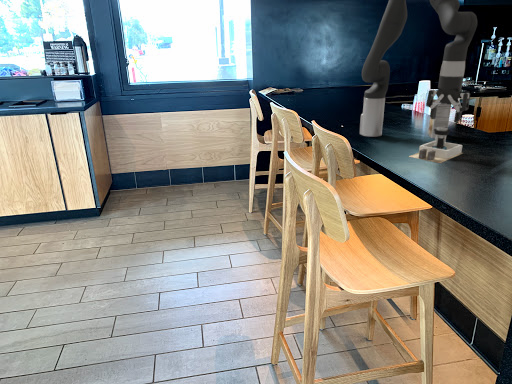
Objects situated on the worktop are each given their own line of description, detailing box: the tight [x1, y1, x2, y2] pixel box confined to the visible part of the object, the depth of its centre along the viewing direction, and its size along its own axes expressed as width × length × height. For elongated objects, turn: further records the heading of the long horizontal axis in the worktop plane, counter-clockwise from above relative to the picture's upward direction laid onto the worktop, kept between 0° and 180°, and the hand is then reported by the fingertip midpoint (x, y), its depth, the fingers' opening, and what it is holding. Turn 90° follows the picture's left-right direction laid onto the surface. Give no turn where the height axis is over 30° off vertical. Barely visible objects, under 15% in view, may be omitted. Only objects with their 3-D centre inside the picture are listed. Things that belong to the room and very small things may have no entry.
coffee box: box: [427, 98, 452, 139], centre depth 172 cm, size 9×6×16 cm
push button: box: [432, 126, 451, 150], centre depth 143 cm, size 7×5×10 cm
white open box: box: [418, 140, 463, 159], centre depth 145 cm, size 11×12×3 cm
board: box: [408, 149, 464, 164], centre depth 143 cm, size 12×18×4 cm, turn 130°
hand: (444, 120), depth 141 cm, fingers open, 8 cm apart
